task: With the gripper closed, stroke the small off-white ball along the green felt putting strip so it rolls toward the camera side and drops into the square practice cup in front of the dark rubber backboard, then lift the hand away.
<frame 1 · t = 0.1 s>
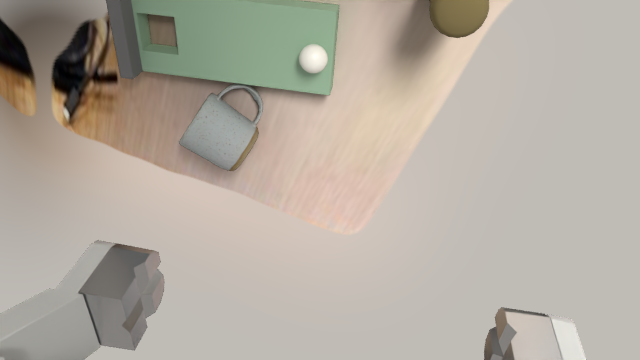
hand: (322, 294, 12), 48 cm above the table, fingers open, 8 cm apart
ball: (315, 53, 56), point 2 cm above the table, touching putting strip
putting strip: (229, 35, 59), on the table
ceramic mug: (232, 112, 65), on the table
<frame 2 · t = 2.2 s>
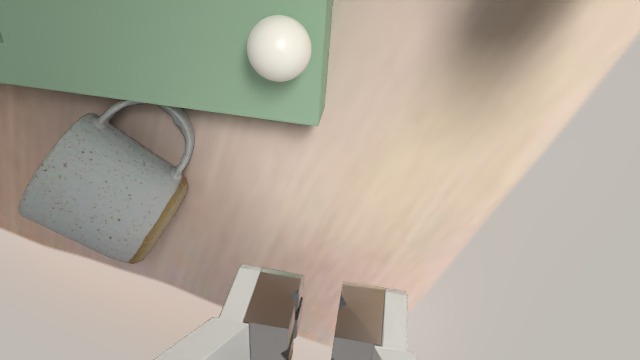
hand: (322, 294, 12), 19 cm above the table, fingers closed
ball: (286, 37, 25), point 2 cm above the table, touching putting strip
putting strip: (110, 1, 28), on the table
ceramic mug: (141, 146, 35), on the table
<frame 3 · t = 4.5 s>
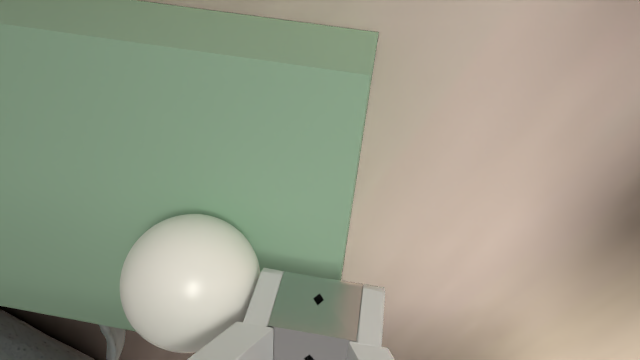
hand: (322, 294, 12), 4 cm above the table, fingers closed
ball: (254, 257, 12), point 3 cm above the table, tilted 50°, touching gripper, putting strip
ceramic mug: (47, 322, 22), on the table
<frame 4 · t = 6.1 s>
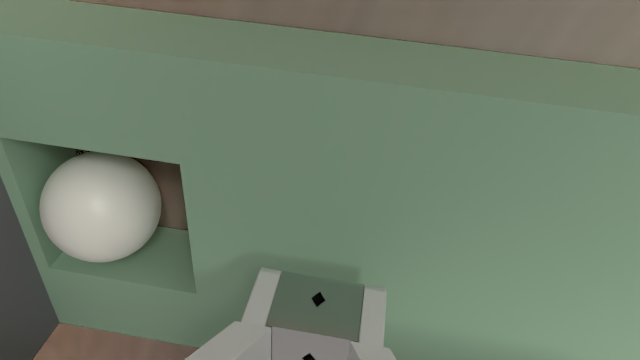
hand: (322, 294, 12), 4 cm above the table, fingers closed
ball: (139, 176, 15), resting in putting strip, tilted 12°
putting strip: (406, 209, 14), on the table
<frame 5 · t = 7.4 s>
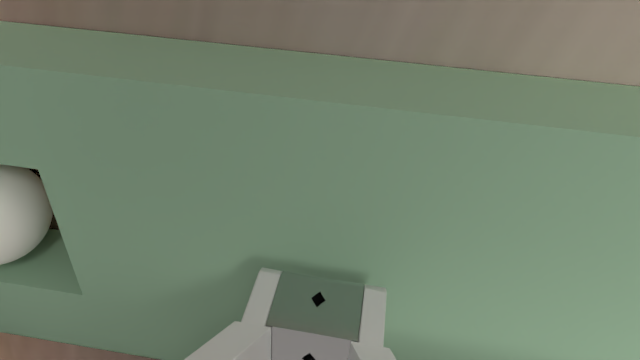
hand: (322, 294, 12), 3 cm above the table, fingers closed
ball: (34, 182, 16), resting in putting strip, tilted 11°
putting strip: (286, 209, 15), on the table
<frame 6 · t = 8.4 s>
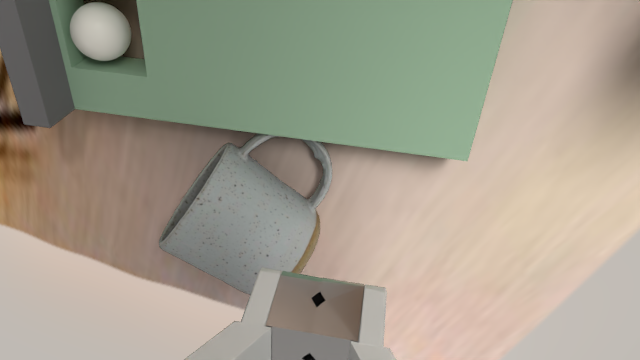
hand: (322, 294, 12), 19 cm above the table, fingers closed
ball: (118, 24, 29), resting in putting strip, tilted 9°
putting strip: (255, 35, 28), on the table
ceramic mug: (266, 176, 34), on the table
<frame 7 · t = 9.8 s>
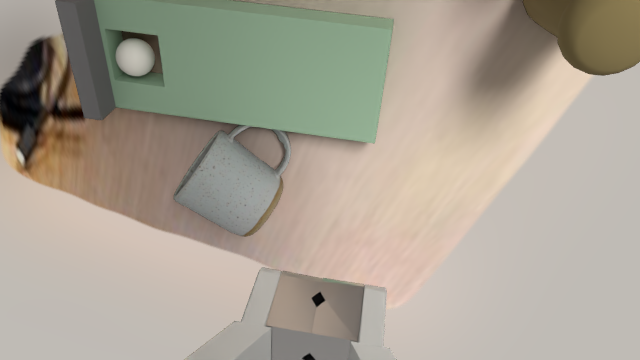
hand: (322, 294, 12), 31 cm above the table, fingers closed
ball: (145, 50, 43), resting in putting strip, tilted 6°
putting strip: (235, 59, 42), on the table
ceramic mug: (247, 153, 48), on the table
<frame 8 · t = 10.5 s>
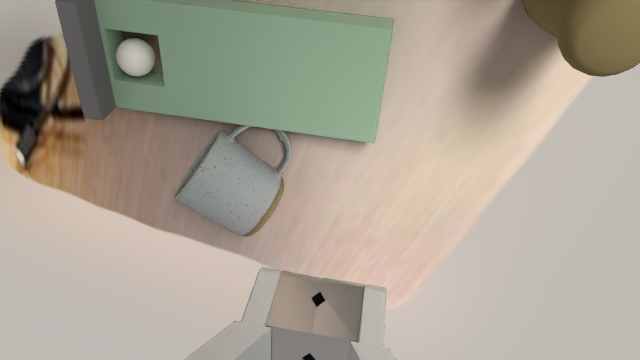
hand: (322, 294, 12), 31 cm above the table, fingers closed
ball: (145, 50, 43), resting in putting strip
putting strip: (235, 59, 42), on the table
ceramic mug: (248, 153, 48), on the table, touching putting strip
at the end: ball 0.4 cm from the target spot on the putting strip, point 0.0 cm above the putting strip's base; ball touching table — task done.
